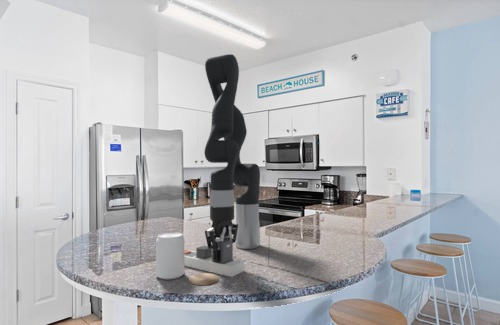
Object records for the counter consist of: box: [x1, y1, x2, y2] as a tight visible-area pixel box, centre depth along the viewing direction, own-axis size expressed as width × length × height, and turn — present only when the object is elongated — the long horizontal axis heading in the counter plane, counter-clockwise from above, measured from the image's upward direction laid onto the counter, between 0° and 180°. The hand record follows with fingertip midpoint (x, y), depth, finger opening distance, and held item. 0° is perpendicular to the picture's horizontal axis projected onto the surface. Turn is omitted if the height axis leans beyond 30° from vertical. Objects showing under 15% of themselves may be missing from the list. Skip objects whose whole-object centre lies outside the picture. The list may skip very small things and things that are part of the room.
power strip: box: [184, 245, 245, 278], centre depth 102 cm, size 6×26×6 cm, turn 56°
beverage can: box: [155, 232, 185, 280], centre depth 93 cm, size 8×8×12 cm
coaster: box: [189, 272, 219, 286], centre depth 90 cm, size 8×8×1 cm
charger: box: [212, 239, 234, 264], centre depth 98 cm, size 4×5×7 cm
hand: (222, 259), depth 98 cm, fingers closed on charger, 4 cm apart
